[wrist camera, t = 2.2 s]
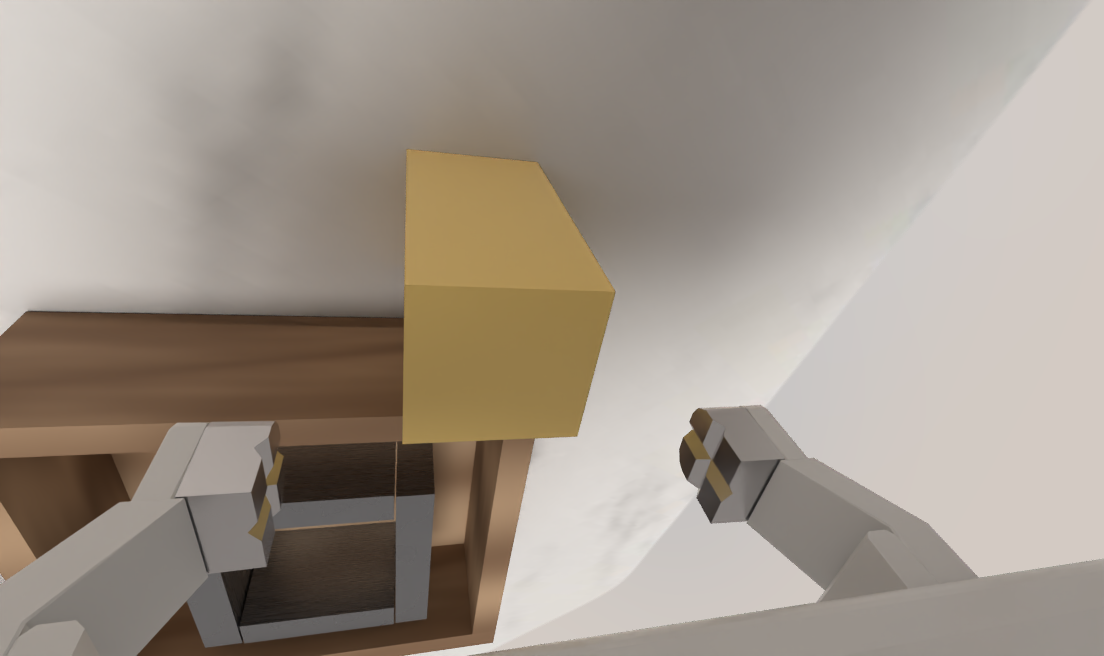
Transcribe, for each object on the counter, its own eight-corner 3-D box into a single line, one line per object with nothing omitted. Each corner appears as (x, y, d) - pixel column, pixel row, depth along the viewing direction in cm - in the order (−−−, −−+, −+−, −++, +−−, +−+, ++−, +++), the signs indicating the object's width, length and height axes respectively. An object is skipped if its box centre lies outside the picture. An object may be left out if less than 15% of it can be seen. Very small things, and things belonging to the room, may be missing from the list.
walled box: (26, 311, 16) (-101, 431, 12) (514, 320, 20) (540, 412, 16) (145, 574, 24) (91, 701, 20) (480, 542, 28) (492, 642, 24)
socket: (195, 416, 19) (152, 512, 16) (431, 410, 21) (434, 492, 18) (233, 552, 23) (205, 648, 20) (424, 535, 25) (426, 619, 22)
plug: (406, 148, 16) (404, 284, 9) (537, 162, 17) (615, 291, 10) (404, 268, 18) (402, 444, 12) (521, 273, 19) (577, 436, 13)
